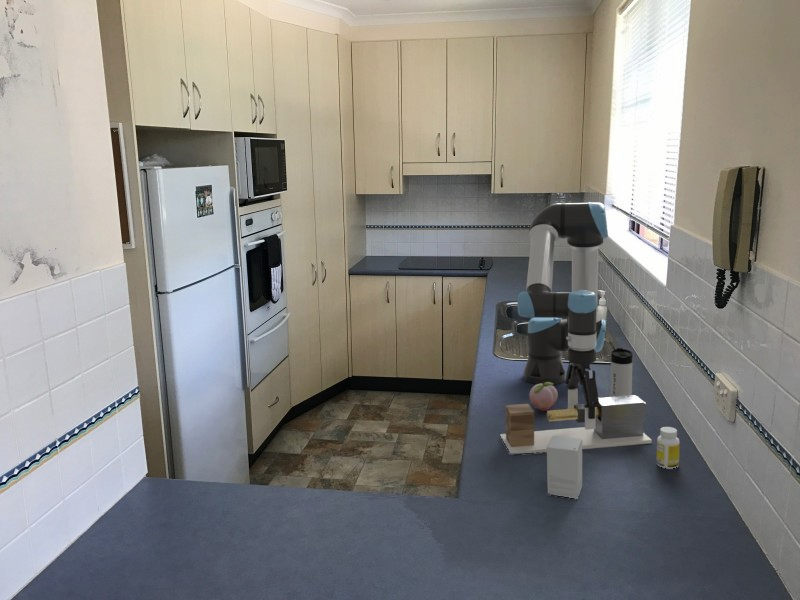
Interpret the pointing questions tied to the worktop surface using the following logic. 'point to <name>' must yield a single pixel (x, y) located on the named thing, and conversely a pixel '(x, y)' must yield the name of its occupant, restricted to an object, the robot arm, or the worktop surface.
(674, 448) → the supplement bottle
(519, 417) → the walnut socket
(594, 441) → the base board
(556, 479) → the supplement box
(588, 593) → the worktop surface
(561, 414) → the brass rod
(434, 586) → the worktop surface
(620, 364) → the travel mug
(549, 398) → the decorative fruit
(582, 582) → the worktop surface
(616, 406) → the metal sleeve
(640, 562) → the worktop surface
